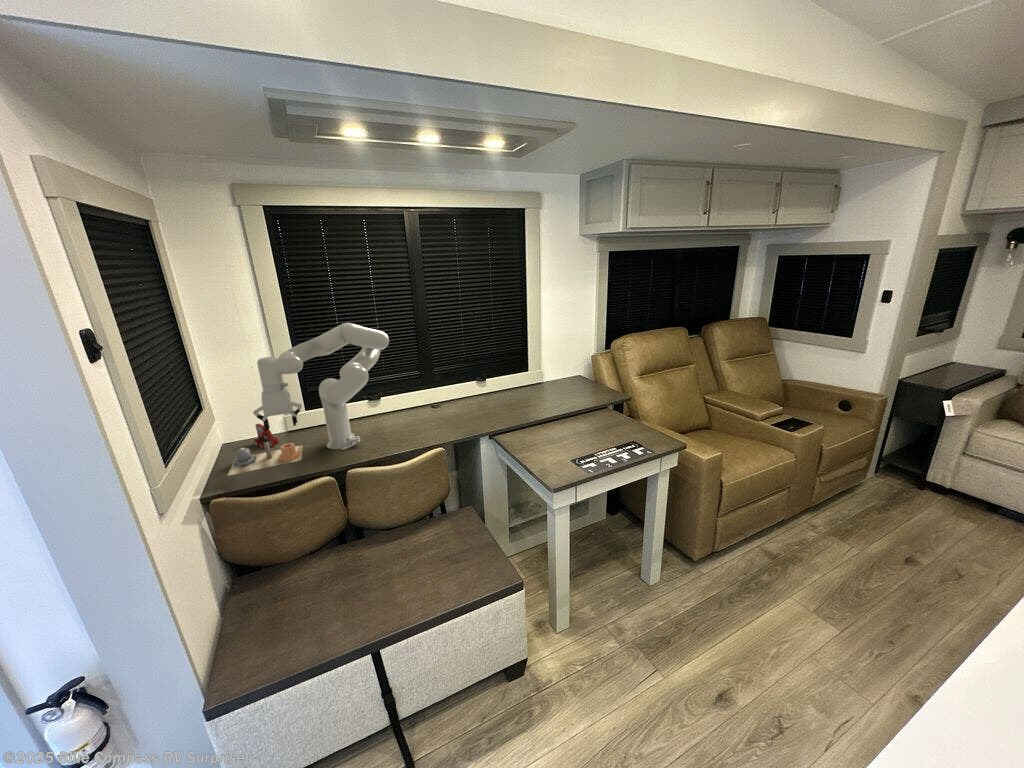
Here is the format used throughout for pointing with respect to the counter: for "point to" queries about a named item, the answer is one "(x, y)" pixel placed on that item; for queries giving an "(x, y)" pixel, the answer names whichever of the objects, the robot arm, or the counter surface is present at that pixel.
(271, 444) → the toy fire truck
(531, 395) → the counter surface
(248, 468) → the gear board
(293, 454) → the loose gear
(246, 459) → the grey octopus toy
